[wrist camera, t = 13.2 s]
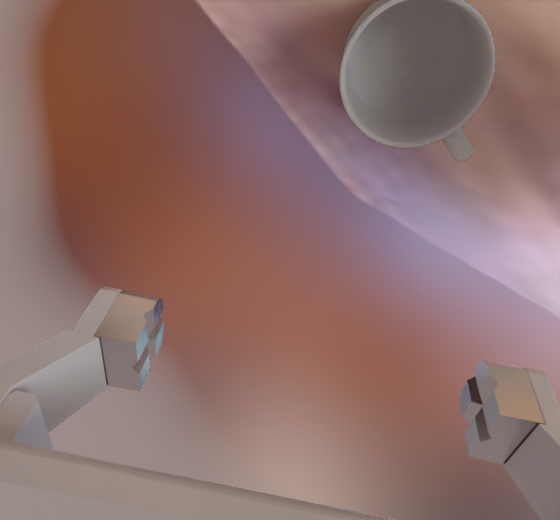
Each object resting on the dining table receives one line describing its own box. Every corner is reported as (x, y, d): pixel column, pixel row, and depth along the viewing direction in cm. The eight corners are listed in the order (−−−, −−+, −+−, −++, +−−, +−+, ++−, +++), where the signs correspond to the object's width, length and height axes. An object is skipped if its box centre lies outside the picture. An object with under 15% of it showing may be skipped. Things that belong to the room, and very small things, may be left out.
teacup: (321, 18, 39) (313, 43, 33) (453, -55, 35) (472, -43, 29) (383, 158, 46) (386, 201, 40) (500, 111, 42) (524, 150, 36)
